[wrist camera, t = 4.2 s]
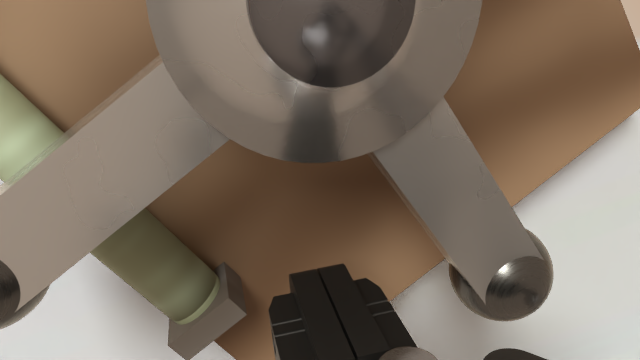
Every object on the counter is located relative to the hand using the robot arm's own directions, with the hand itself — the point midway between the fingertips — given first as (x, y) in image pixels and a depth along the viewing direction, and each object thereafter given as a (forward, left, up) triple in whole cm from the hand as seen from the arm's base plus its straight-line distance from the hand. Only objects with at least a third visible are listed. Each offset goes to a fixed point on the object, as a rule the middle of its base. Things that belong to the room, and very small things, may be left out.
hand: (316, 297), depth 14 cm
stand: (+5, -4, -4) cm, 8 cm away
